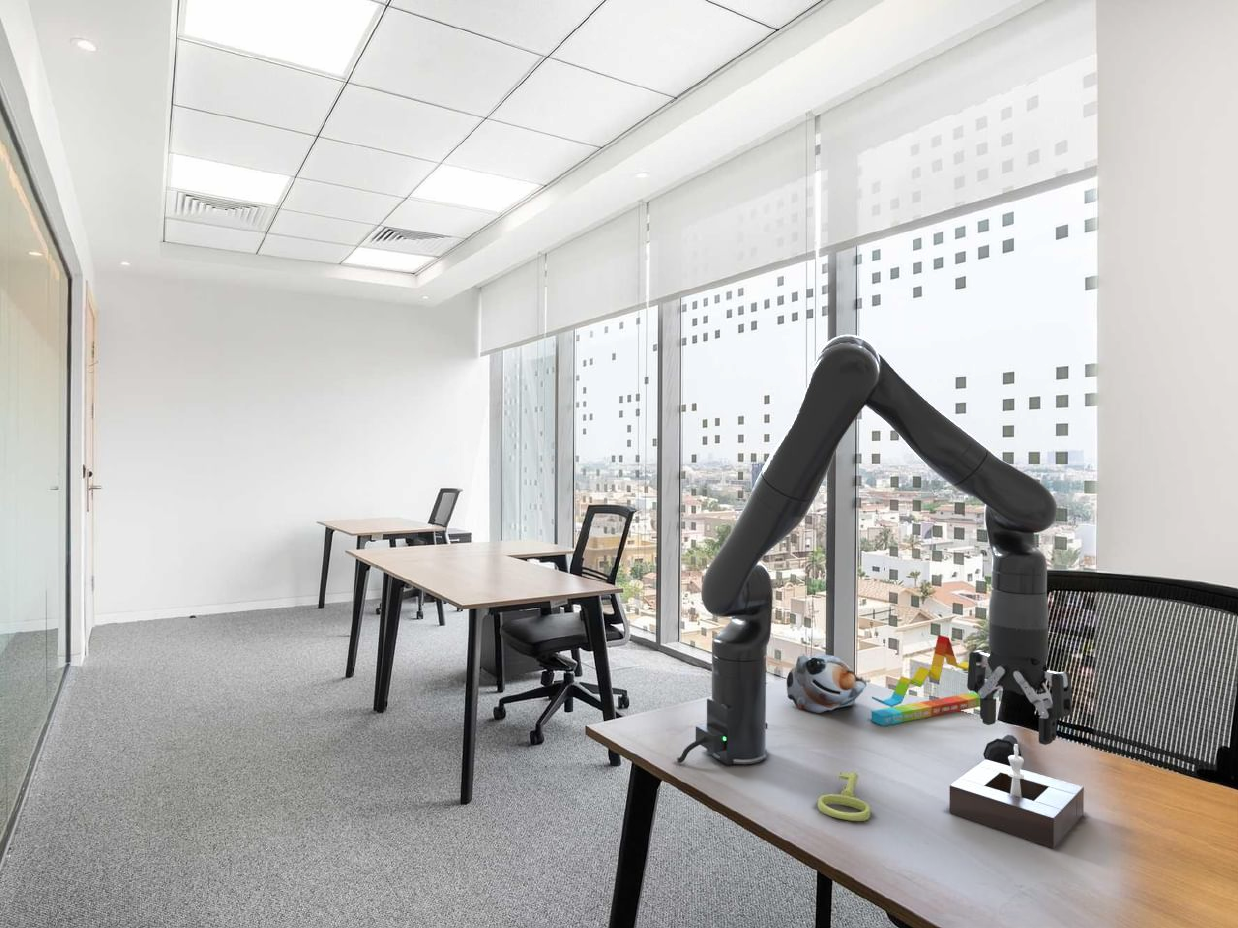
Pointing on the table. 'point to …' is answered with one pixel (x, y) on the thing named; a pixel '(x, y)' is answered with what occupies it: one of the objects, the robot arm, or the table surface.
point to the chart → (925, 707)
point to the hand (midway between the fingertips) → (1016, 732)
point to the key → (845, 801)
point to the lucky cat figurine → (823, 683)
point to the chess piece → (1016, 771)
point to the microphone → (1001, 750)
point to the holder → (1017, 803)
